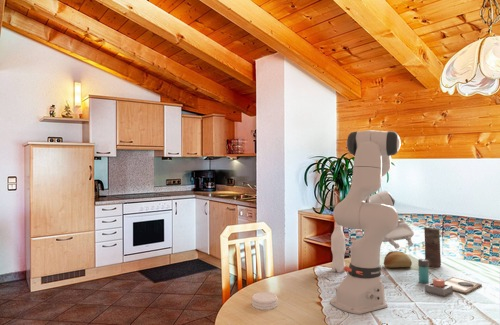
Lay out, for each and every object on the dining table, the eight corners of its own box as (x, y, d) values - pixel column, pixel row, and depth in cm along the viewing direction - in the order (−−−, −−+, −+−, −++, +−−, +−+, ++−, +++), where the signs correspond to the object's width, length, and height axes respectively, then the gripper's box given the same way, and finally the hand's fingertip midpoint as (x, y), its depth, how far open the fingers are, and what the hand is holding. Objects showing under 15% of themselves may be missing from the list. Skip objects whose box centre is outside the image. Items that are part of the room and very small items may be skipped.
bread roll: (379, 265, 185) (379, 250, 185) (404, 263, 188) (404, 248, 188) (389, 271, 175) (389, 255, 175) (416, 268, 178) (415, 253, 178)
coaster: (262, 298, 142) (262, 289, 142) (282, 304, 136) (282, 295, 136) (246, 306, 135) (246, 297, 135) (267, 313, 128) (267, 303, 128)
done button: (441, 290, 143) (441, 282, 143) (430, 287, 146) (430, 280, 146) (446, 287, 146) (446, 280, 146) (435, 284, 149) (435, 277, 149)
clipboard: (465, 294, 143) (465, 292, 143) (436, 286, 153) (436, 284, 153) (481, 285, 153) (481, 283, 153) (452, 278, 162) (452, 276, 162)
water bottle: (344, 269, 178) (344, 220, 178) (347, 273, 171) (346, 223, 171) (330, 269, 179) (329, 220, 179) (332, 273, 172) (331, 223, 172)
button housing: (443, 297, 141) (443, 289, 141) (425, 291, 147) (425, 284, 147) (452, 292, 145) (452, 285, 145) (434, 287, 151) (433, 280, 151)
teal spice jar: (425, 284, 155) (425, 262, 155) (416, 281, 159) (416, 260, 159) (430, 282, 158) (430, 260, 158) (421, 279, 161) (421, 258, 161)
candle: (421, 263, 186) (421, 226, 186) (432, 262, 188) (432, 225, 188) (433, 268, 179) (432, 229, 179) (444, 266, 181) (443, 228, 181)
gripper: (376, 221, 169) (393, 245, 161) (405, 217, 178) (422, 240, 170) (369, 228, 173) (385, 252, 165) (398, 225, 182) (415, 247, 174)
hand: (404, 246), depth 167 cm, fingers open, 8 cm apart
